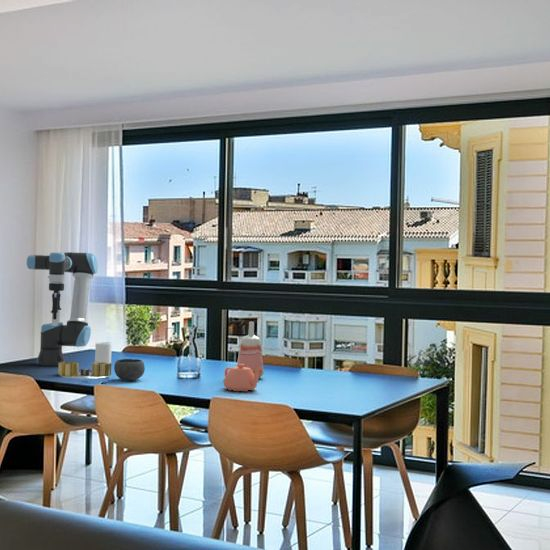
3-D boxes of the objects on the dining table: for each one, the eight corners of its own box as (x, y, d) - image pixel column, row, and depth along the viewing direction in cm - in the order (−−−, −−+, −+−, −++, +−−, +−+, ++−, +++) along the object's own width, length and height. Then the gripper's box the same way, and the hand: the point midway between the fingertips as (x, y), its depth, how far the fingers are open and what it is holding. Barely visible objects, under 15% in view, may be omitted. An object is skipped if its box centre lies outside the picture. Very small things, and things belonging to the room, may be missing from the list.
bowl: (144, 382, 385) (145, 362, 385) (113, 382, 383) (113, 362, 383) (144, 378, 400) (144, 358, 400) (114, 377, 397) (115, 358, 397)
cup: (106, 374, 407) (107, 344, 407) (92, 373, 408) (93, 343, 408) (113, 372, 415) (114, 342, 415) (98, 371, 416) (99, 341, 416)
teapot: (270, 391, 373) (271, 365, 373) (251, 395, 360) (252, 368, 360) (232, 385, 385) (233, 360, 385) (213, 389, 372) (214, 363, 372)
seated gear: (90, 374, 398) (90, 362, 397) (109, 373, 401) (109, 361, 401) (92, 376, 389) (93, 364, 388) (112, 376, 392) (112, 364, 392)
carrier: (62, 374, 403) (62, 362, 403) (110, 374, 407) (110, 363, 407) (57, 381, 380) (57, 369, 380) (108, 381, 384) (108, 369, 384)
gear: (59, 373, 396) (59, 361, 396) (78, 373, 398) (79, 361, 398) (57, 376, 387) (57, 363, 387) (77, 376, 388) (77, 364, 388)
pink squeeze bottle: (246, 375, 423) (248, 320, 422) (268, 378, 414) (270, 322, 414) (230, 378, 411) (232, 321, 410) (252, 381, 402) (254, 323, 402)
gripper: (50, 281, 413) (50, 321, 414) (46, 284, 388) (46, 326, 389) (65, 281, 414) (64, 321, 415) (62, 284, 390) (61, 327, 391)
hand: (55, 324), depth 402 cm, fingers open, 13 cm apart
